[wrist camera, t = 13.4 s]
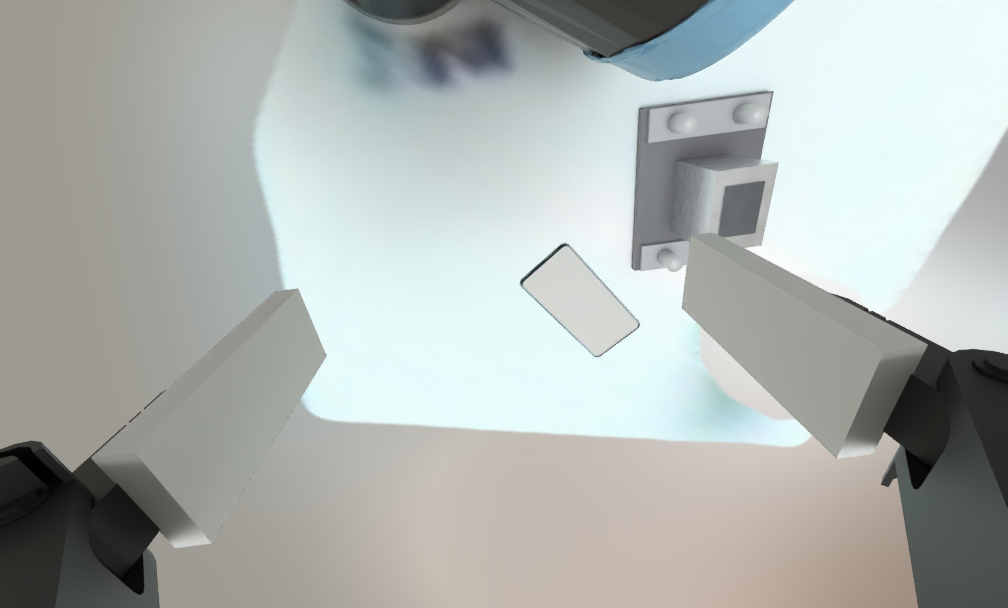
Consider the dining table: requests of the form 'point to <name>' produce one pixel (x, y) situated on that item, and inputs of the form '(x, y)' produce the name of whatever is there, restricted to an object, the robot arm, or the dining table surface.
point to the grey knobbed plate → (678, 138)
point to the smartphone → (579, 301)
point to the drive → (723, 197)
